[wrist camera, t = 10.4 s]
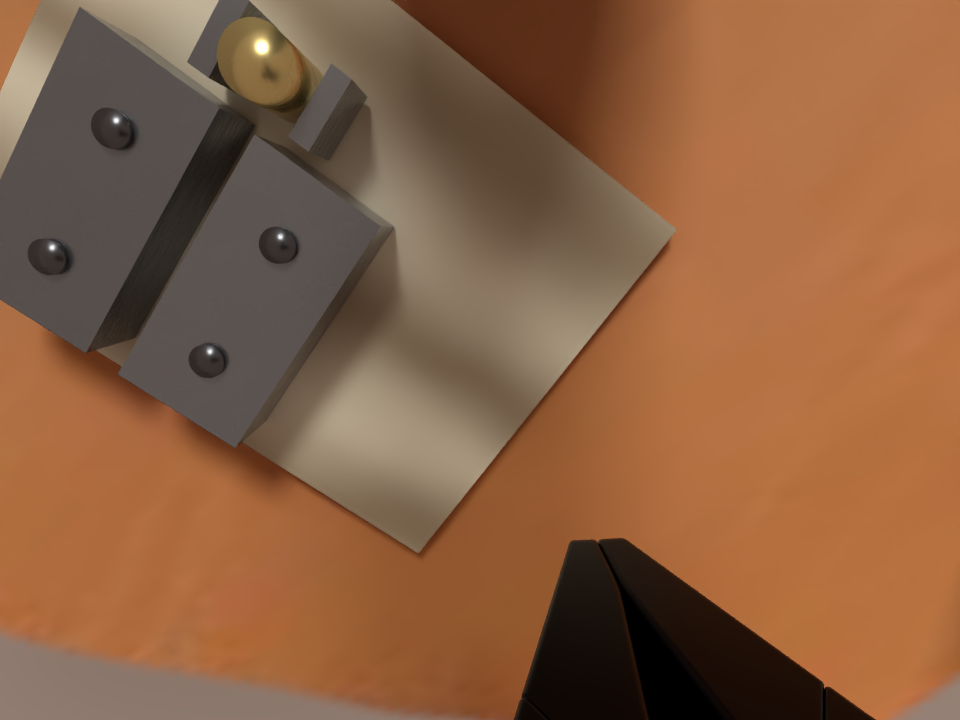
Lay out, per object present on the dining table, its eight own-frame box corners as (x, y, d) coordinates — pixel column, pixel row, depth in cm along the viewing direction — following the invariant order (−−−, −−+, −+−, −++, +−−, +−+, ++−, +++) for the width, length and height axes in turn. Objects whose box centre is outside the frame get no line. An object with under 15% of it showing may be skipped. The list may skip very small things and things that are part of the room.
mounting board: (146, -191, 15) (132, -208, 15) (671, 229, 18) (677, 229, 18) (-51, 246, 19) (-69, 246, 18) (419, 544, 21) (418, 553, 21)
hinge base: (342, 78, 17) (309, 42, 13) (173, 362, 19) (112, 388, 16) (179, -47, 16) (104, -115, 13) (24, 267, 18) (-71, 274, 15)
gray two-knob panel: (442, 155, 17) (435, 142, 15) (265, 422, 19) (232, 450, 17) (331, 70, 16) (303, 40, 14) (162, 356, 19) (113, 375, 16)
